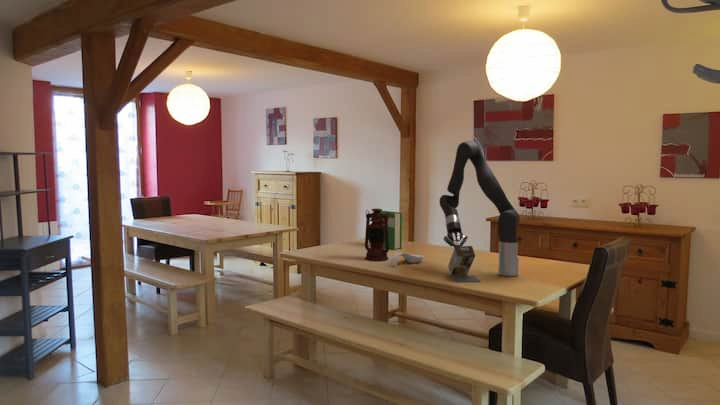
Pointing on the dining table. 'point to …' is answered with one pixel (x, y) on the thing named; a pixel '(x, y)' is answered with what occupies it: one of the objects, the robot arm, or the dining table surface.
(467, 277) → the mat
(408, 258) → the spoon rest
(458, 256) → the coffee box
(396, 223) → the hardback book
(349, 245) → the dining table surface
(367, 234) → the lantern
